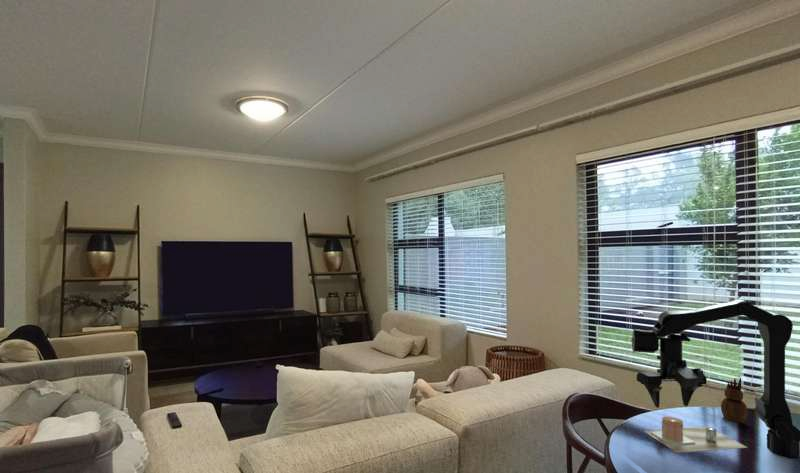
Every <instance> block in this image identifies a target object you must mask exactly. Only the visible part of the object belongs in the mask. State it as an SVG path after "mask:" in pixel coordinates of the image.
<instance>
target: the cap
mask: <svg viewBox="0 0 800 473" xmlns="http://www.w3.org/2000/svg"><path fill="white" fill-rule="evenodd" d="M683 428H684V421H683V420H682V419H681V418H678V417H675V416H674V417H673V416H663V417H662V418H661V430H662V436H663V437H665V438H666V439H669V440H673V441H683Z"/></svg>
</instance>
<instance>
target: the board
mask: <svg viewBox="0 0 800 473" xmlns="http://www.w3.org/2000/svg"><path fill="white" fill-rule="evenodd" d="M706 427H707V426H699V427H697V426H696V427H685V428H684V427H683V435H684V436H685V437H687V438H689V439H691V440H692V441H694V442H695V444H687V445H673V446H669V445H668V444H666V443H665V442H663V441H662V440H660V439H659V438H657V437H656V436H654V435H652V434H651V432H656V431H662V429H649V430H643V432H644V433H646V434H648V435H649V436H651V437H652V438H653V439H655V440H657V441H658V442H660V443H661V444H662V445H664V446H666V447H668V448H669V449H670V450H672V451H673V452H675V453H677V454H678V453H681V454H682V453H691V452H706V451H709V452H710V451H720V450H734V449H737V450H738V449H747V448H748V447H747V446H745V445H744V444H742V443H740V442H738V441H737V440H734V439H732V438H730V437H729V436H727V435H725V434H723V433H721V432H719V431H717V430H716V436H717V442H716V443H710V442H707V441H706Z"/></svg>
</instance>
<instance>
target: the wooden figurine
mask: <svg viewBox="0 0 800 473" xmlns="http://www.w3.org/2000/svg"><path fill="white" fill-rule="evenodd" d="M726 384H727V385H726V388H725V389H724V396H725V397H724V398H723V399H722V400H721V402H720V411H721V414H722V416H723V418H724V419H725V420H726V421H727V420H728V421H730V422H734V423H739V424H740V423H741V424H744V423H745V421H746V419H747V416H748V407H747V405H746V403H745V402H744V401H743V399H744V392H743V391H742V377H739V379H738V383H737V380H736V378H734V380H733V381H732V380H730V382H727V383H726Z"/></svg>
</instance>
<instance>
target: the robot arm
mask: <svg viewBox="0 0 800 473" xmlns="http://www.w3.org/2000/svg"><path fill="white" fill-rule="evenodd" d="M740 316H745V317H746V318H748V319H750V320H753V321H755V322H756V323H757V328H758V331H759V335H760V337H761V339H762V341H763V394H762V395H761V397H757V396H755V397H754V402H755V407H754V412H756V413H757V416H758V417H759V419H760V420H761V421H762V422H763V423H764V424H765V426H766V427H767V428H768V429H767V433H766V448H768V450H769V451H770V452H771V453H773V454H775V455H777V456H779V457H784V458H786V459H789V460H794V459H800V430H799V429H798V428H797V427H796V426H795V425H794V423H793V418H792V417H793V416H792V413H791V409H790V408H789V405H788V402H787V400H786V346H787V345H788V343H789V341H790V340H791V337H792V332H793V328H794V327H793V326H794V324H793V322H792V320H791V318H788V317H787V316H786V315H784V314H780V313H778V312H775V311H770V310H765V309H762V308H759V307H757V306H755V305H753V304H752V303H751V302H749V301H747V300H743V299H735V300H733V301H729V302H725V303H719V304H715V305H710V306H706V307H700V308H696V309H691V310H690V309H689V310H680V309H679V310H665V311H663V312H661V313H660V314H659V316H658V319H657V322H656V323H655V324H654V325H653V326H652V327H651V329H650V330H648V329H647V330H646V329H638V328H633V331H632V336H631V348H632V352H633V353H634V352H635V353H646V354H647V353H648V354H655V353H656V352H658V350H659V355H658V354H657V355H656V360H659V368H657V369H656V371H657V372H656V373H658V374H656V373H654V372H652V371H639V372H638V373H637V374H636V382H639V383H640V384H641V385H642V386H644V387H645V389H646V391H647V392H648V394H649V395H650V399H651V401H652V402H653V404H654V407H656V409H659V408H660V397H661V396H660V391H661V390H662V389H663V387H662V386H661V385H662V384H663V382H676V383H678V385H679V386H680V392H681V399H682V400H681V401H682V404H683V406H684V407H688V406H689V404H690V400H692V396H693V394H694V392H695V391H696V390H697V389H699V388H702V387H703V386H704V385H707V382H708V381H707V376H706V375H705V374H704V370H703V369H702V368H701V367H694V368H693V367H688V366H687V365H688V364H687V360H686V359H684V358H683V342H690V341H691V338H690V337H688V336H687V335H686V333H685V332H684V331H687V330H689V329H691V328H693V327H695V326H697V325H701V324H705V323H710V322H714V321H715V322H716V321H720V320H725V319H730V318H736V317H740Z"/></svg>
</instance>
